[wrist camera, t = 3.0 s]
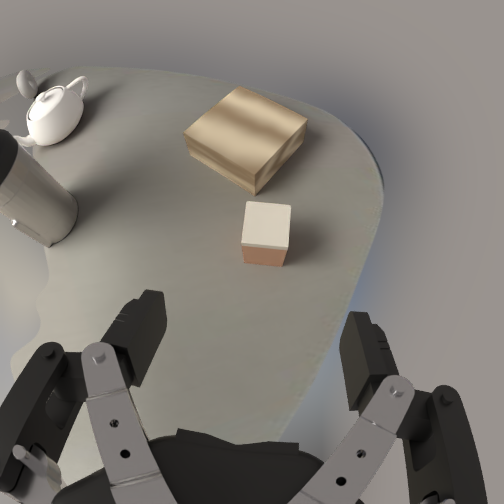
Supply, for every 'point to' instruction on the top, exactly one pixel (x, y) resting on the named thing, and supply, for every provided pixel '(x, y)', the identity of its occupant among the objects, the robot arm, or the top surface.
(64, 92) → the teapot
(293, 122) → the pine box
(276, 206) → the cube
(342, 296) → the top surface
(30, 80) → the donut
